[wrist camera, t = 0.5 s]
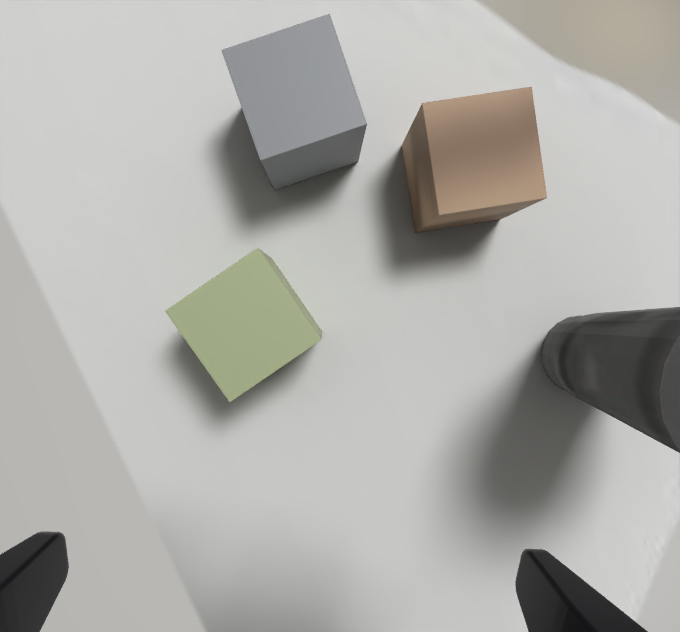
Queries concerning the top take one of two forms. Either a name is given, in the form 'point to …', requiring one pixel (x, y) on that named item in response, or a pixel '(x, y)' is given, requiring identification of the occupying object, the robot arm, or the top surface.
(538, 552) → the robot arm
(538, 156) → the walnut block
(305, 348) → the olive block
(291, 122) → the charcoal block
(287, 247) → the top surface
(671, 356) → the beverage cup
